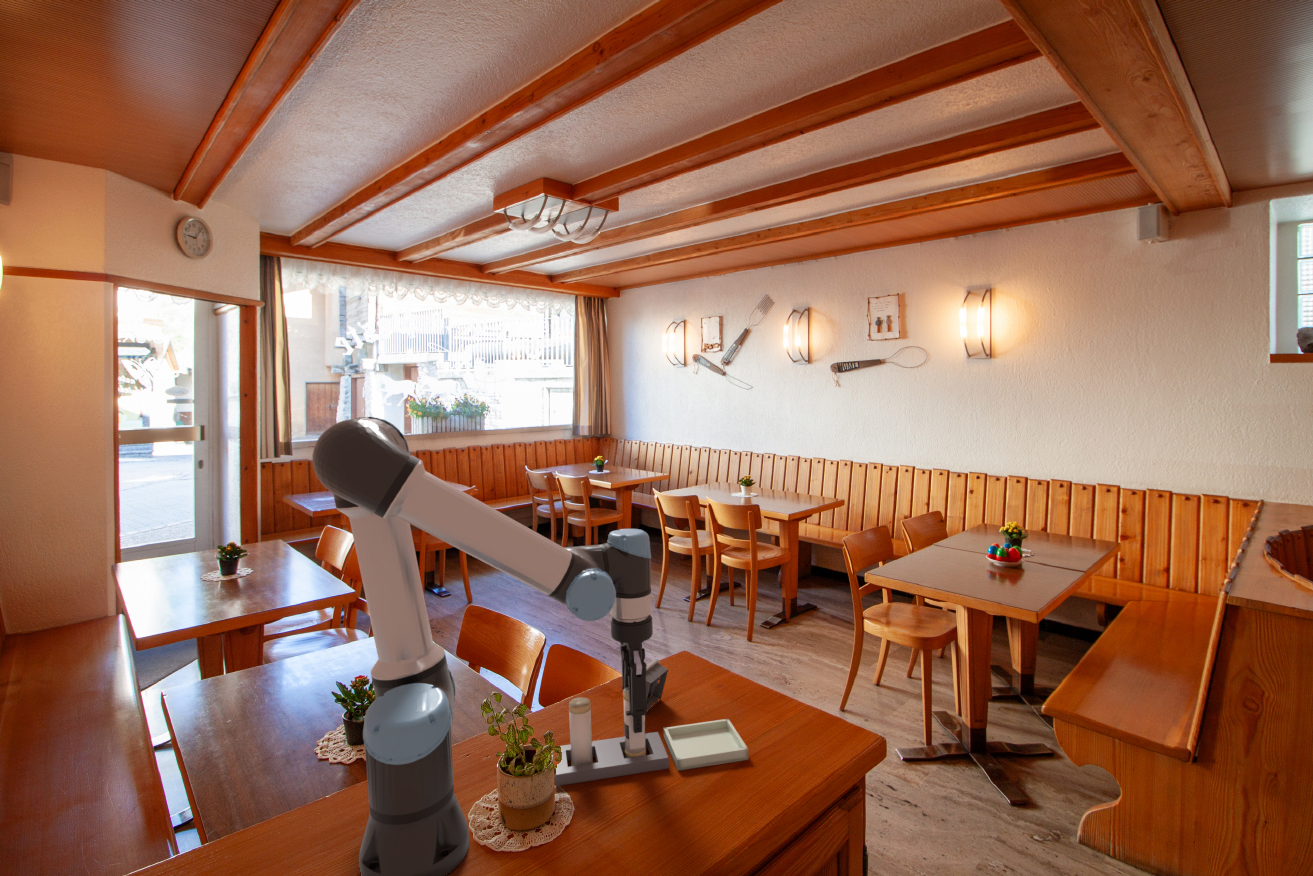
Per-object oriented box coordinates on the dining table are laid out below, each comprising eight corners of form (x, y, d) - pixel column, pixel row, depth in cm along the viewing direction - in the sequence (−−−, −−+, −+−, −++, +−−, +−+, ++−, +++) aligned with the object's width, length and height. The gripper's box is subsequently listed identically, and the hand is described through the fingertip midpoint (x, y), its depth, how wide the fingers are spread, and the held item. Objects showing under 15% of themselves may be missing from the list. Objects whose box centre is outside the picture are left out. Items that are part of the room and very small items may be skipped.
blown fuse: (626, 761, 115) (625, 696, 114) (623, 750, 118) (621, 687, 118) (647, 758, 115) (645, 694, 115) (643, 747, 119) (642, 684, 118)
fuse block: (555, 786, 110) (555, 775, 109) (552, 757, 118) (552, 747, 118) (668, 768, 114) (668, 757, 114) (658, 741, 123) (657, 731, 122)
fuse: (572, 774, 113) (569, 709, 112) (570, 762, 116) (568, 699, 116) (593, 771, 114) (591, 706, 113) (591, 759, 117) (589, 696, 116)
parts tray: (677, 770, 113) (677, 759, 113) (663, 737, 124) (663, 728, 124) (748, 759, 116) (748, 749, 116) (728, 728, 127) (728, 718, 126)
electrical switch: (647, 694, 142) (649, 655, 141) (668, 701, 140) (670, 661, 138) (625, 713, 134) (627, 671, 133) (646, 721, 131) (648, 679, 130)
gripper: (661, 629, 108) (665, 763, 109) (643, 599, 124) (646, 715, 126) (617, 634, 106) (622, 769, 108) (604, 602, 123) (608, 720, 124)
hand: (635, 740), depth 117 cm, fingers closed on blown fuse, 4 cm apart
